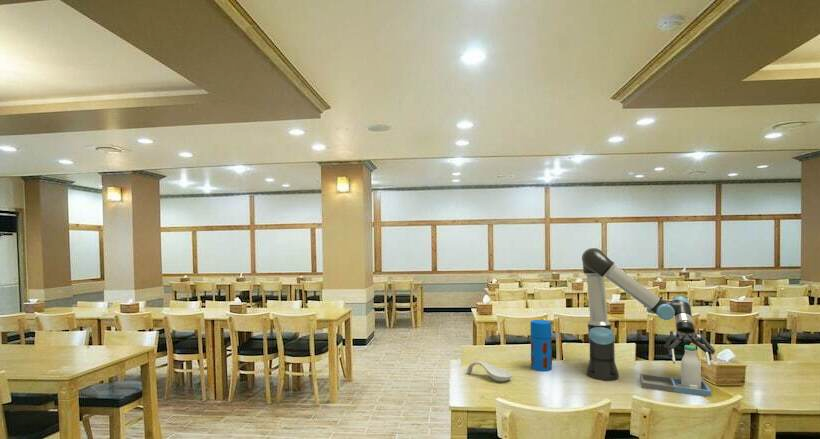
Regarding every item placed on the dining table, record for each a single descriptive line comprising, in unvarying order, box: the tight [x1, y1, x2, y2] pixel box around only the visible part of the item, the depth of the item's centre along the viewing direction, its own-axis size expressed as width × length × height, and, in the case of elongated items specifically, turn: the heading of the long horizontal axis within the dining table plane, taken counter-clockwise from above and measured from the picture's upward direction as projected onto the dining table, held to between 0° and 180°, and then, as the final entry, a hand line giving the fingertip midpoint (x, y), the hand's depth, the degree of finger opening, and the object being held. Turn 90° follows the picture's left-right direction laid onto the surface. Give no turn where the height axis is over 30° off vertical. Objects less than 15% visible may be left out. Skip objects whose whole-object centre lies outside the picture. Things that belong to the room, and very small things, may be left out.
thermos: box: [529, 319, 553, 372], centre depth 227 cm, size 11×11×25 cm
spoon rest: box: [466, 360, 513, 383], centre depth 213 cm, size 24×12×7 cm, turn 56°
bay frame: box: [639, 373, 712, 397], centre depth 198 cm, size 27×14×4 cm, turn 65°
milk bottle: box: [680, 344, 702, 389], centre depth 195 cm, size 8×8×20 cm
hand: (691, 364), depth 193 cm, fingers open, 13 cm apart
